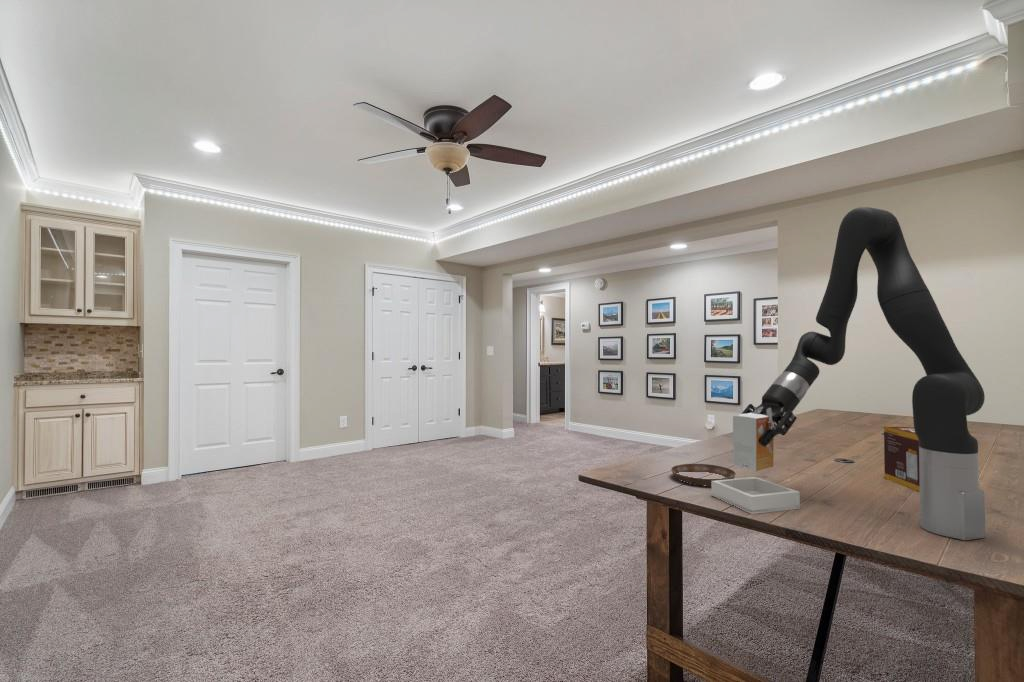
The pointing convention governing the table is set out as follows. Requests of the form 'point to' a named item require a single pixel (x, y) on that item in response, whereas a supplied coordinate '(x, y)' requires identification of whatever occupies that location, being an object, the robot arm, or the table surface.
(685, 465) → the brown round ring
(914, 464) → the supplement box
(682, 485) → the table surface
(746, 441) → the small box
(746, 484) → the grey basin
